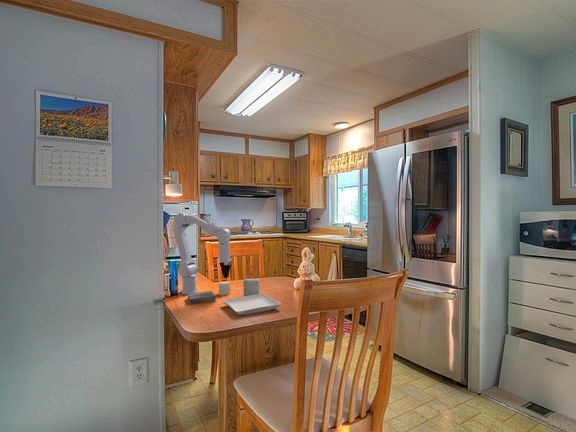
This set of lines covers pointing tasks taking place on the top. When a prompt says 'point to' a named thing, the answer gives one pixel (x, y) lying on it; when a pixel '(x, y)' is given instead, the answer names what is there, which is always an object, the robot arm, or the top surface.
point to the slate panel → (201, 297)
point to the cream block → (224, 288)
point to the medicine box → (251, 287)
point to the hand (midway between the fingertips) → (225, 276)
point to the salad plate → (252, 304)
